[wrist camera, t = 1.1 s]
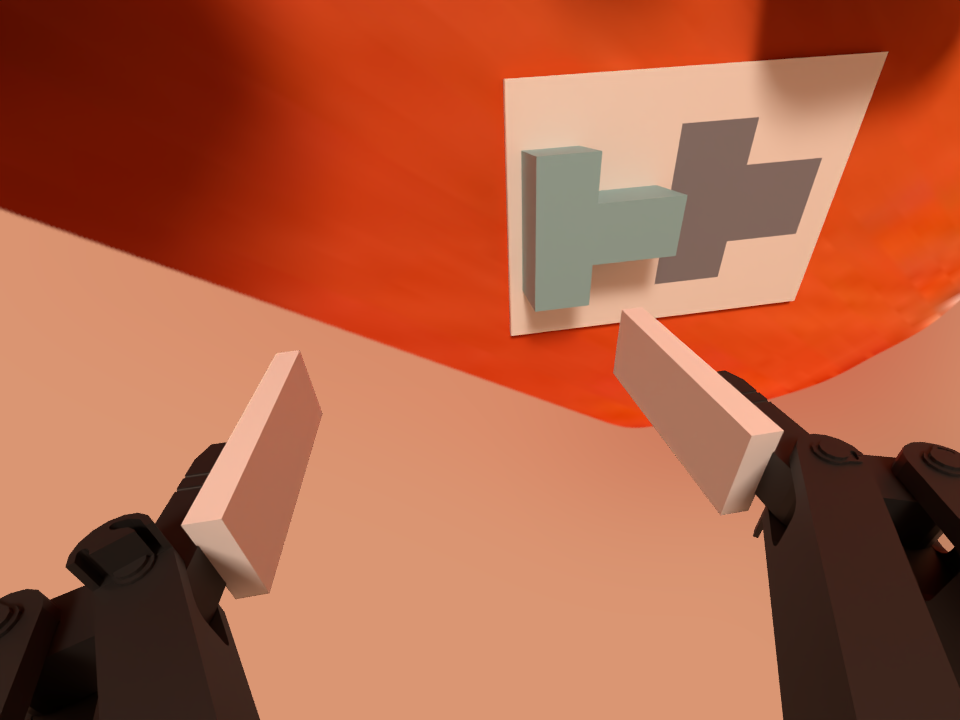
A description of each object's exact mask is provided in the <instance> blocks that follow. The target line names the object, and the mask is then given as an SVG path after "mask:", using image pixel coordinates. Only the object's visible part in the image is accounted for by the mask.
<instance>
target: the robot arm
mask: <svg viewBox="0 0 960 720" xmlns="http://www.w3.org/2000/svg"><path fill="white" fill-rule="evenodd" d="M613 373H614V375H615V376H616V377H617V379H618V380H619V381H620V383H621V384H622V385H623V387H624V388H625V389H626V391H627V392H628V393H629V395H630V396H631V397H632V399H633V400H634V401H635V402H636V404H637V405H638V406H639V408H640V409H641V410H642V412H643V413H644V414H645V416H646V417H647V418H648V420H649V421H650V422H651V424H652V425H653V426H654V428H655V429H656V430H657V432H658V433H659V434H660V436H661V437H662V438H663V440H664V441H665V442H666V443H667V445H668V446H669V448H670V449H671V450H672V452H673V453H674V454H675V456H676V457H677V458H678V460H679V461H680V462H681V464H682V465H683V466H684V467H685V469H686V470H687V471H688V473H689V474H690V475H691V477H692V478H693V479H694V481H695V482H696V483H697V485H698V486H699V487H700V489H701V490H702V491H703V493H704V494H705V495H706V497H707V498H708V499H709V501H710V502H711V503H712V505H713V506H714V507H715V509H716V510H717V511H718V513H719V514H720V515H725V514H731V513H737V512H742V511H748V510H749V507H750V506H751V503H752V501H753V499H754V497H755V494H756V495H757V496H758V497H759V499H760V500H761V501H762V502H763V503H764V504H765V509H764V511H763V513H762V515H761V517H760V519H759V521H758V523H757V525H756V527H755V530H754V534H753V536H754V537H757V538H758V537H759V535H760V533H761V531H762V530H763V532H764V541H765V550H766V559H767V568H768V578H769V588H770V597H771V607H772V617H773V626H774V635H775V645H776V655H777V663H778V673H779V683H780V692H781V701H782V711H783V720H960V453H958V452H957V451H955V450H953V449H949V448H946V447H944V446H940V445H936V444H931V443H925V442H913V443H910V444H907V445H905V446H904V447H903V448H902V450H901V452H900V453H899V454H898V456H897V457H896V458H893V457H882V456H870V455H863V454H862V453H861V452H860V451H858V450H857V449H856V448H855V447H853V446H852V445H850V444H848V443H846V442H844V441H842V440H839V439H836V438H833V437H830V436H827V435H819V434H809V433H808V432H806V431H805V430H804V429H803V428H802V427H800V426H799V425H798V424H797V423H795V422H794V421H793V420H792V419H790V418H789V417H788V416H787V415H786V414H785V413H783V412H782V411H781V410H780V409H778V408H777V407H776V406H775V405H774V404H772V403H771V402H768V401H767V399H766V398H765V397H764V396H763V395H762V394H760V393H757V392H756V390H755V389H754V388H753V387H752V386H751V385H749V384H748V383H747V382H746V381H745V380H743V379H741V378H739V377H737V376H735V375H733V374H731V373H729V372H727V371H718V372H716V371H715V370H714V369H713V368H711V367H710V366H709V365H708V364H707V363H706V362H705V361H703V360H702V359H701V358H700V357H699V356H698V355H696V354H695V353H694V352H693V351H692V350H691V349H690V348H688V347H687V346H686V345H685V344H684V343H683V342H682V341H680V340H679V339H678V338H677V337H676V336H675V335H674V334H672V333H671V332H670V331H669V330H668V329H667V328H666V327H664V326H663V325H662V324H661V323H660V322H659V321H658V320H656V319H655V318H654V317H653V316H652V315H651V314H650V313H648V312H647V311H646V310H645V309H644V308H643V307H639V308H631V309H623V310H622V312H621V319H620V327H619V334H618V342H617V349H616V357H615V365H614V372H613ZM321 416H322V411H321V408H320V406H319V403H318V400H317V397H316V394H315V392H314V389H313V386H312V383H311V381H310V378H309V375H308V372H307V369H306V366H305V364H304V361H303V358H302V355H301V352H300V350H297V351H289V352H282V353H276V355H275V356H274V358H273V360H272V362H271V363H270V365H269V367H268V369H267V371H266V372H265V374H264V376H263V378H262V380H261V382H260V383H259V385H258V387H257V389H256V391H255V392H254V394H253V396H252V398H251V400H250V401H249V403H248V405H247V407H246V409H245V411H244V412H243V414H242V416H241V418H240V420H239V421H238V423H237V425H236V427H235V428H234V430H233V432H232V434H231V436H230V437H229V439H228V441H227V442H226V443H219V444H212V445H210V446H209V447H208V448H207V449H206V450H205V451H204V452H203V453H202V454H201V455H199V456H198V457H197V458H196V459H195V460H194V462H193V463H192V465H191V467H190V468H189V470H188V472H187V473H186V475H185V478H184V479H183V480H182V481H181V483H180V484H179V486H178V488H177V492H175V493H174V494H173V496H172V498H171V499H170V501H169V503H168V504H167V505H166V507H165V509H164V510H163V512H162V514H161V515H160V517H159V518H158V520H157V522H156V523H154V522H153V521H152V520H151V518H150V517H149V516H148V515H145V514H140V513H134V514H128V515H123V516H121V517H118V518H116V519H113V520H110V521H108V522H107V523H105V524H103V525H102V526H100V527H98V528H97V529H95V530H93V531H92V532H91V533H90V534H89V535H87V536H86V537H85V538H84V539H83V540H82V541H80V542H79V543H78V545H77V546H76V547H75V548H74V550H73V551H72V552H71V554H70V555H69V557H68V561H67V564H66V568H67V569H68V570H69V571H70V572H71V573H72V574H74V575H75V576H76V577H77V578H78V579H79V580H80V581H81V582H82V583H83V584H84V585H85V586H83V587H80V588H78V589H75V590H73V591H70V592H68V593H65V594H63V595H61V596H58V597H56V598H53V599H51V600H49V599H48V598H47V597H46V596H45V595H43V594H42V593H41V592H40V591H39V590H32V589H25V590H21V591H17V592H14V593H10V594H8V595H6V596H4V597H2V598H0V720H260V718H259V715H258V713H257V710H256V707H255V703H254V700H253V697H252V694H251V691H250V688H249V685H248V682H247V679H246V676H245V673H244V670H243V667H242V664H241V661H240V658H239V655H238V652H237V649H236V646H235V643H234V639H233V637H232V633H231V631H230V627H229V624H228V621H227V618H226V615H225V612H224V611H223V609H222V608H221V607H220V605H219V601H220V598H221V596H222V594H223V591H224V588H225V586H226V587H227V588H228V590H229V591H230V592H231V594H232V595H233V596H234V598H235V599H239V598H244V597H250V596H256V595H261V594H268V593H270V589H271V586H272V582H273V579H274V576H275V572H276V569H277V566H278V562H279V559H280V555H281V552H282V549H283V545H284V541H285V538H286V535H287V532H288V528H289V524H290V522H291V518H292V514H293V511H294V508H295V505H296V501H297V497H298V494H299V491H300V488H301V484H302V481H303V477H304V474H305V471H306V467H307V464H308V460H309V457H310V454H311V450H312V447H313V443H314V440H315V436H316V433H317V430H318V426H319V423H320V420H321ZM943 533H944V534H945V535H946V537H947V538H948V539H949V540H950V541H951V543H952V544H953V545H954V548H953V549H952V550H951V551H949V552H947V551H946V550H945V549H944V548H943V547H942V545H941V544H940V543H939V542H938V538H939V537H940V536H941V535H942V534H943Z"/></svg>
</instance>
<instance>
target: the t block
mask: <svg viewBox="0 0 960 720" xmlns="http://www.w3.org/2000/svg"><path fill="white" fill-rule="evenodd" d="M601 162H602V151H601V150H596V149H592V148H587V147H583V146H569V147H558V148H546V149H535V150H523V151H521V180H522V291H523V292H524V294H525V296H526V297H527V299H528V301H529V302H530V304H531V306H532V307H533V309H534V311H535V312H538V311H546V310H554V309H563V308H571V307H579V306H587V305H589V300H590V289H591V277H592V266H593V265H599V264H608V263H617V262H626V261H635V260H643V259H652V258H661V257H670V256H676V252H677V247H678V241H679V236H680V231H681V226H682V221H683V216H684V211H685V206H686V201H687V196H688V195H686V194H683V193H680V192H676V191H673V190H670V189H667V188H664V187H661V186H658V185H652V186H642V187H632V188H621V189H611V190H601V191H599V185H600V173H601Z"/></svg>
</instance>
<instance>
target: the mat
mask: <svg viewBox="0 0 960 720" xmlns="http://www.w3.org/2000/svg"><path fill="white" fill-rule="evenodd" d="M887 55H888V52H875V53H861V54H847V55H833V56H819V57H806V58H792V59H778V60H764V61H750V62H736V63H722V64H708V65H694V66H680V67H666V68H652V69H638V70H624V71H610V72H596V73H582V74H568V75H554V76H540V77H527V78H513V79H503V95H504V131H505V166H506V202H507V238H508V274H509V309H510V334H511V336H515V335H523V334H531V333H539V332H547V331H555V330H563V329H571V328H579V327H587V326H595V325H603V324H611V323H619V322H620V319H621V312H622V310H623V309H631V308H639V307H643V308H644V309H645V310H646V311H647V312H648V313H650V314H651V315H652V316H653V317H654V318H659V317H667V316H675V315H683V314H691V313H699V312H707V311H715V310H723V309H731V308H739V307H747V306H755V305H763V304H771V303H779V302H787V301H794V300H795V297H796V295H797V292H798V289H799V287H800V284H801V281H802V279H803V276H804V274H805V271H806V268H807V266H808V263H809V260H810V258H811V255H812V252H813V250H814V247H815V245H816V242H817V239H818V237H819V234H820V231H821V229H822V226H823V223H824V221H825V218H826V215H827V213H828V210H829V208H830V205H831V202H832V200H833V197H834V194H835V192H836V189H837V186H838V184H839V181H840V179H841V176H842V173H843V171H844V168H845V165H846V163H847V160H848V157H849V155H850V152H851V150H852V147H853V144H854V142H855V139H856V136H857V134H858V131H859V128H860V126H861V123H862V120H863V118H864V115H865V113H866V110H867V107H868V105H869V102H870V99H871V97H872V94H873V91H874V89H875V86H876V84H877V81H878V78H879V76H880V73H881V70H882V68H883V65H884V62H885V60H886V57H887ZM569 146H583V147H587V148H592V149H596V150H601V151H602V162H601V173H600V185H599V191H601V190H611V189H621V188H632V187H642V186H652V185H658V186H661V187H664V188H667V189H670V190H673V191H676V192H680V193H683V194H686V195H688V196H687V201H686V206H685V211H684V216H683V221H682V226H681V231H680V236H679V241H678V247H677V252H676V256H670V257H661V258H652V259H643V260H635V261H626V262H617V263H608V264H599V265H593V266H592V277H591V289H590V300H589V305H587V306H579V307H571V308H563V309H554V310H546V311H538V312H535V311H534V309H533V307H532V306H531V304H530V302H529V301H528V299H527V297H526V296H525V294H524V292H523V291H522V180H521V151H523V150H535V149H546V148H558V147H569Z"/></svg>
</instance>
